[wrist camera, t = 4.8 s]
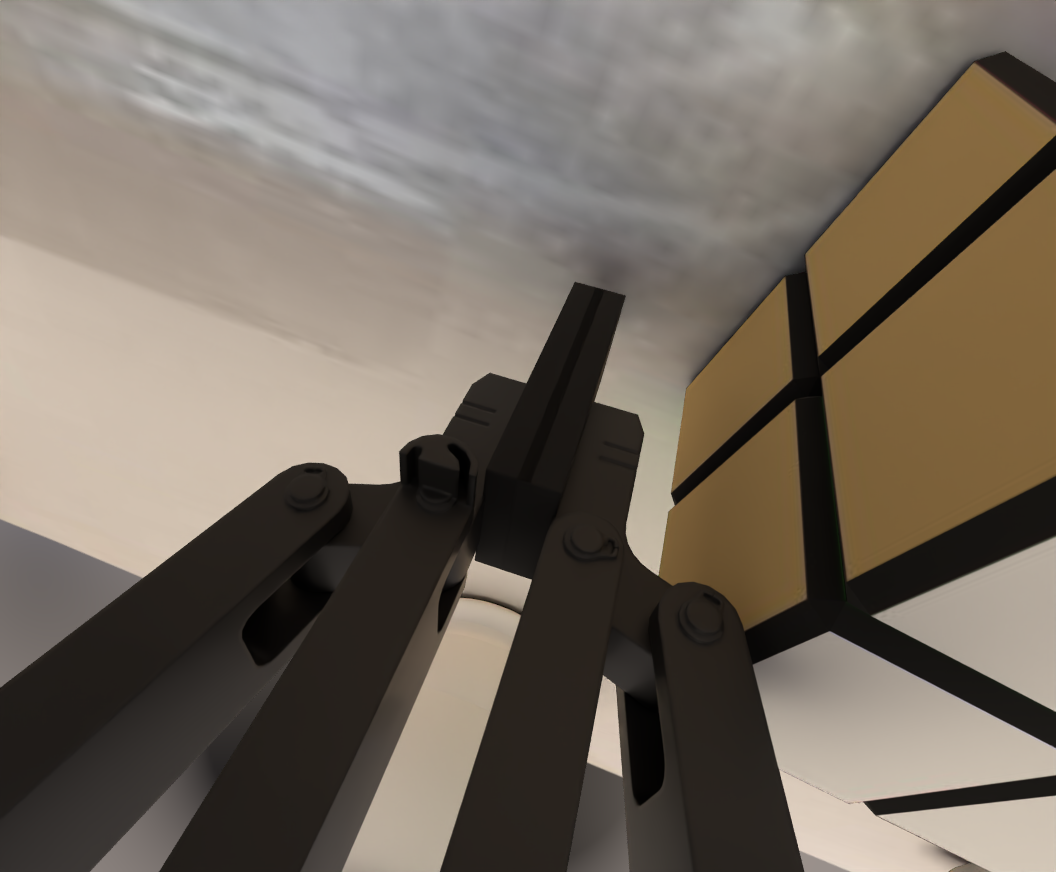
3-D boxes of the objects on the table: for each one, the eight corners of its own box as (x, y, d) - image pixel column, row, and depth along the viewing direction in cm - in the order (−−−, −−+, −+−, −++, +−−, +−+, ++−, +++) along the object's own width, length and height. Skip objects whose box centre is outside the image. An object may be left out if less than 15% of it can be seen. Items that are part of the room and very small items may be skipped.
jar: (463, 560, 29) (296, 934, 18) (614, 657, 31) (540, 1036, 21) (386, 612, 36) (236, 900, 26) (512, 688, 38) (421, 978, 28)
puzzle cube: (1401, 295, 11) (2451, 955, 4) (944, 529, 18) (1054, 912, 11) (986, 37, 10) (1438, 325, 3) (680, 388, 18) (630, 706, 11)
